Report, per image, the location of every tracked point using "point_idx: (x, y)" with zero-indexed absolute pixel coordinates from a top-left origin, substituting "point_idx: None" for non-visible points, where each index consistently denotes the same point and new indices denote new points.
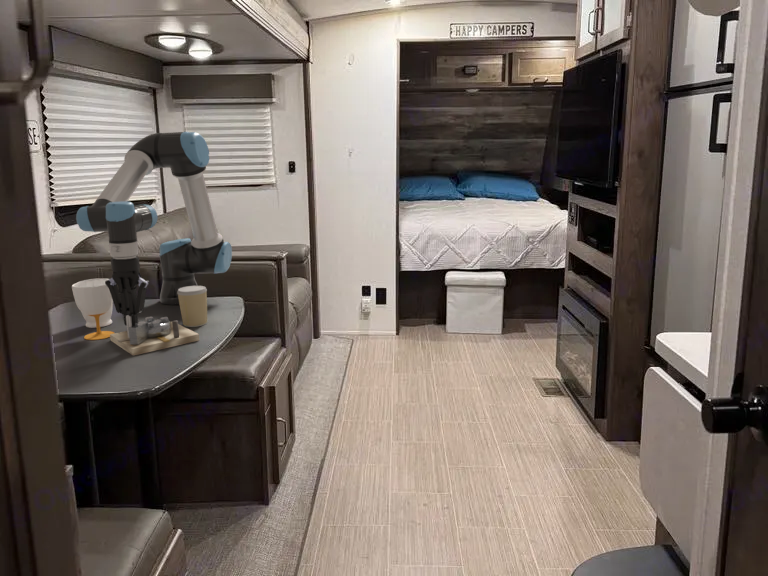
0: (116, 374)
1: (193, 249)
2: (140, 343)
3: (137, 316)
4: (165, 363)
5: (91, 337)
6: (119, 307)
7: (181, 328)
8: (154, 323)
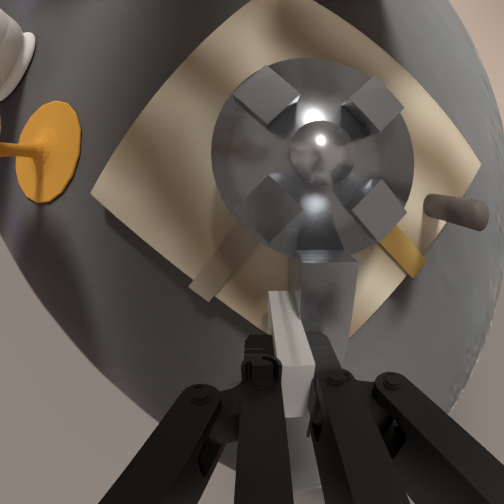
0: None
1: None
2: None
3: (340, 366)
4: (427, 377)
5: (35, 182)
6: (217, 461)
7: (387, 71)
8: (384, 235)
